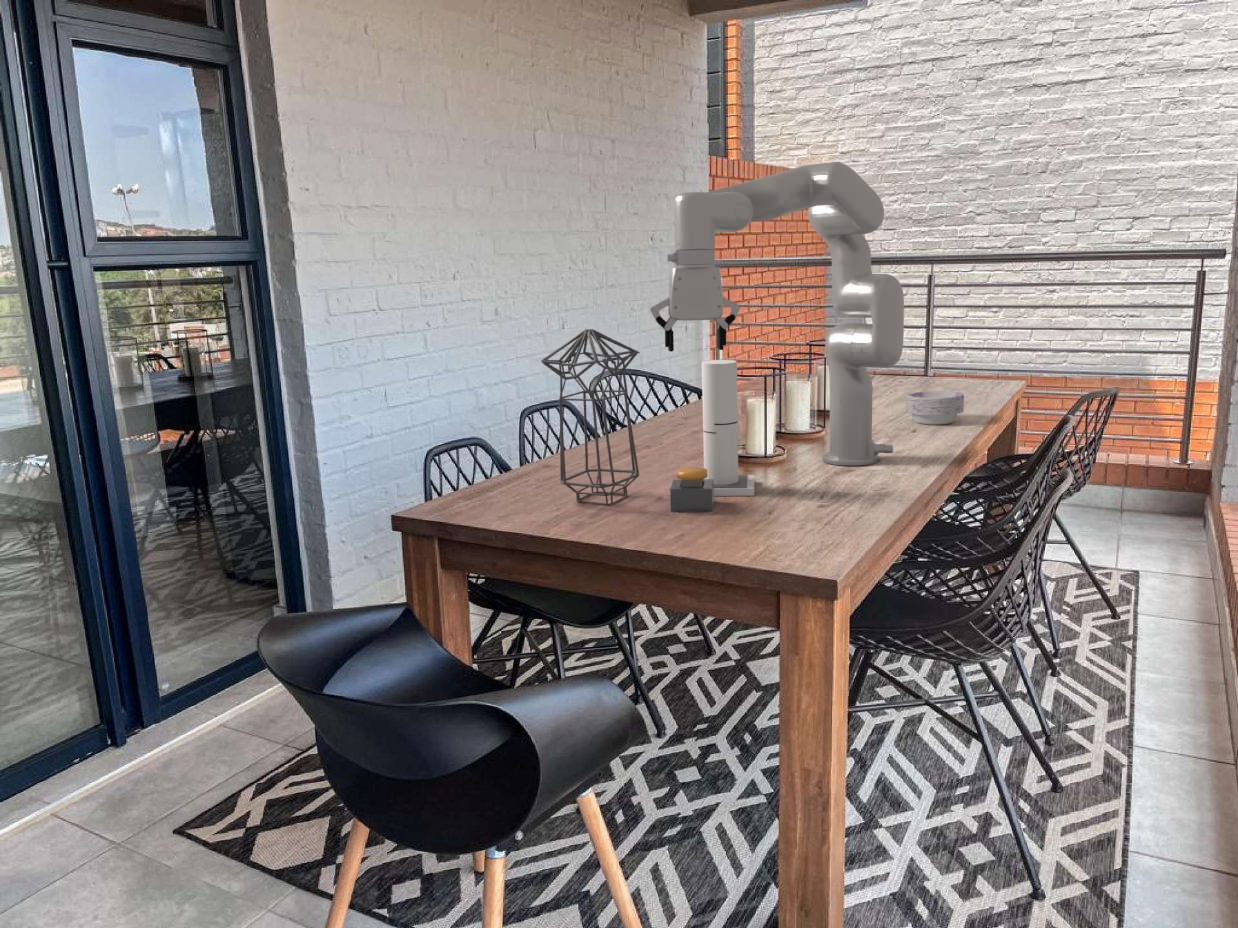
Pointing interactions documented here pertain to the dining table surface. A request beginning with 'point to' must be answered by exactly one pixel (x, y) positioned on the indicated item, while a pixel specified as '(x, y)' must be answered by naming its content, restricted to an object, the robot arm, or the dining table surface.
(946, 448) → the dining table surface
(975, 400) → the dining table surface
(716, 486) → the pallet
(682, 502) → the button housing
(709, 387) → the cylindrical container
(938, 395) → the paper bowls
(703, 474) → the button
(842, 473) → the dining table surface
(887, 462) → the dining table surface
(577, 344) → the geometric lantern
